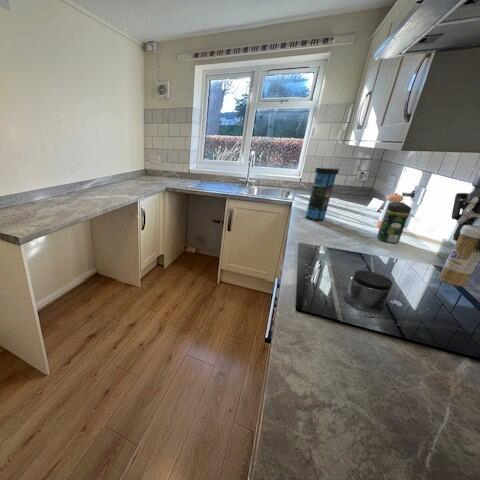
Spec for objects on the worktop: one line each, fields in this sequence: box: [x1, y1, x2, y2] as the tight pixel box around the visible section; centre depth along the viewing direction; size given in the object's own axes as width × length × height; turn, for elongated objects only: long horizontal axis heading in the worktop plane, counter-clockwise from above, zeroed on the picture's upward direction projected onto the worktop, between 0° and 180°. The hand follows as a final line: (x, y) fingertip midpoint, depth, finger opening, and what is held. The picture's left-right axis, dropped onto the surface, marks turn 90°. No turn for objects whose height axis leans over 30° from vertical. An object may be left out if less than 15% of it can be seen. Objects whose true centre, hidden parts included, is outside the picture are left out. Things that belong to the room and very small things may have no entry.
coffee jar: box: [376, 201, 412, 244], centre depth 123 cm, size 10×8×19 cm
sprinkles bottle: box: [438, 224, 480, 287], centre depth 57 cm, size 5×5×14 cm
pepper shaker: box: [375, 192, 404, 229], centre depth 140 cm, size 7×7×19 cm
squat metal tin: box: [343, 270, 393, 319], centre depth 74 cm, size 9×9×10 cm
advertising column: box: [304, 166, 340, 222], centre depth 151 cm, size 11×11×30 cm
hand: (470, 245), depth 56 cm, fingers closed on sprinkles bottle, 4 cm apart
